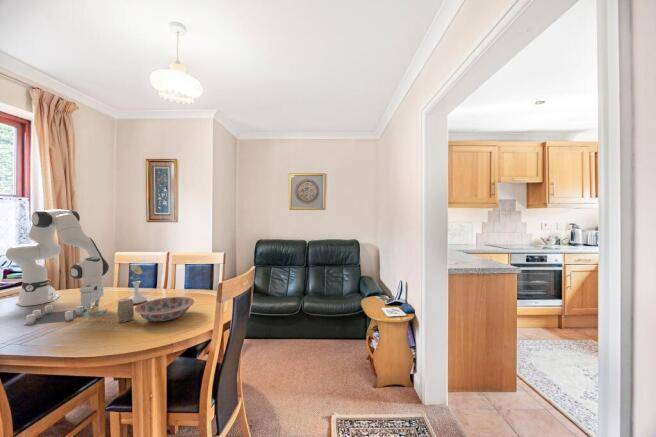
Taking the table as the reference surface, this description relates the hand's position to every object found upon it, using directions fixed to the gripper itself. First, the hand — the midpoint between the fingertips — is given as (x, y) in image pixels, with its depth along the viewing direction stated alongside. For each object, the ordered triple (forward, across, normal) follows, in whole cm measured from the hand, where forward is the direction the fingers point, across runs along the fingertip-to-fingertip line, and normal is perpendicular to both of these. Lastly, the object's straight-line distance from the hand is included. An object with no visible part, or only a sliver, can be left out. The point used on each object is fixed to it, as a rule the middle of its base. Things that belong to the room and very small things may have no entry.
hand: (93, 308), depth 163 cm
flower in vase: (+3, -17, +17) cm, 24 cm away
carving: (+3, +18, +21) cm, 28 cm away
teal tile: (+3, 0, 0) cm, 3 cm away
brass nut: (+2, 0, 0) cm, 2 cm away
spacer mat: (+3, 0, -16) cm, 16 cm away
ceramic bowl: (+3, +21, +41) cm, 46 cm away
